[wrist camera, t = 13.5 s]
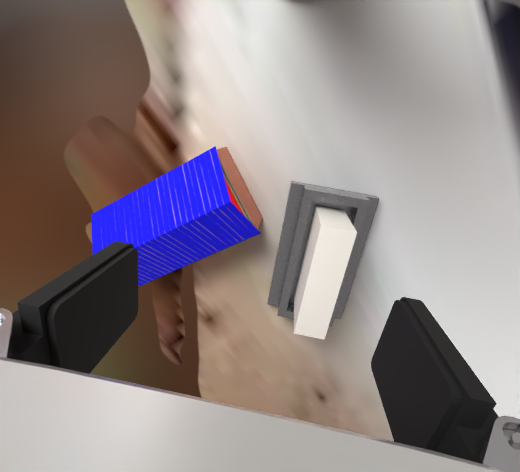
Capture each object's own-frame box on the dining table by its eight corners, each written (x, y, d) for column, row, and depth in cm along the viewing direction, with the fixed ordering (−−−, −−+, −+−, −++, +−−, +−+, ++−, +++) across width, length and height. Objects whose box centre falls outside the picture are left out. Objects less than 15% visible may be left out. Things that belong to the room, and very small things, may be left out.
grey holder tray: (291, 181, 41) (291, 186, 37) (376, 196, 40) (384, 203, 36) (268, 298, 48) (266, 313, 44) (339, 313, 47) (343, 329, 44)
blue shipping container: (265, 217, 43) (255, 248, 32) (160, 265, 48) (121, 305, 38) (227, 143, 40) (202, 149, 29) (119, 202, 45) (63, 226, 34)
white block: (315, 205, 40) (320, 225, 32) (344, 210, 40) (357, 232, 31) (294, 295, 45) (293, 333, 37) (319, 300, 45) (324, 339, 37)
